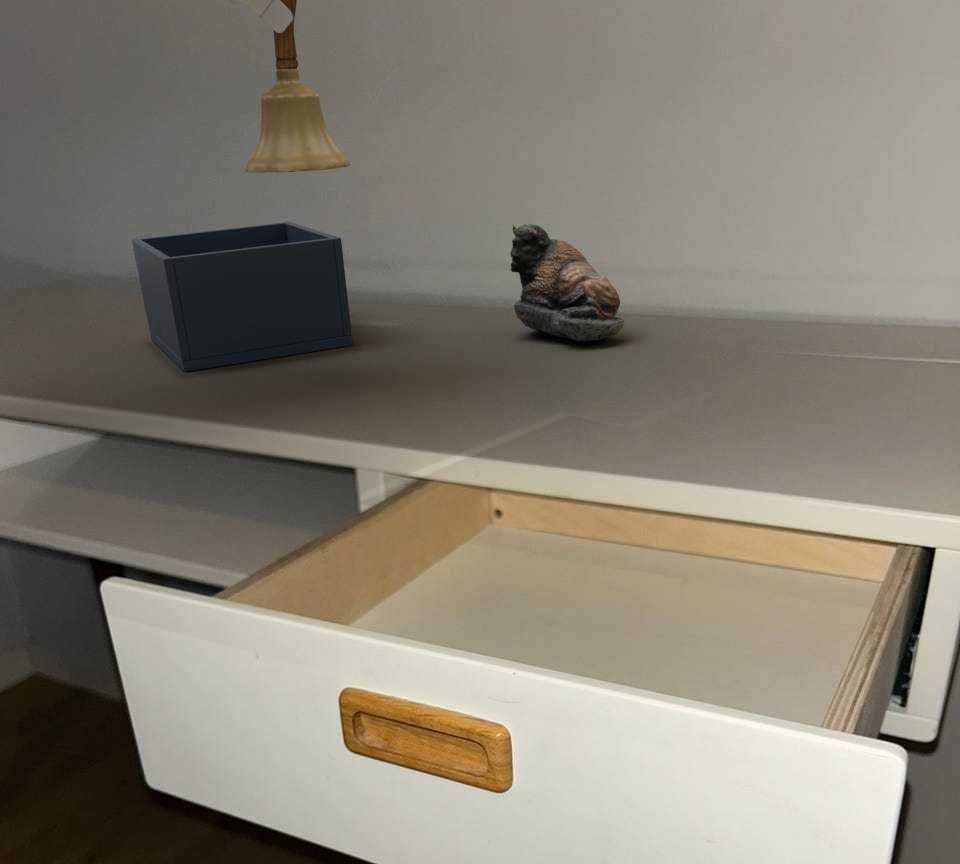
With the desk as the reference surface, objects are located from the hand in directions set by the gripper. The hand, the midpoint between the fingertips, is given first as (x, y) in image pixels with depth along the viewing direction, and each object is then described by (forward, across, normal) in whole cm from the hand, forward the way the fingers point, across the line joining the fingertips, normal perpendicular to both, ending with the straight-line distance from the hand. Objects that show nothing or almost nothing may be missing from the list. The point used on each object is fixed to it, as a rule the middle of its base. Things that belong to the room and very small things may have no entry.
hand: (289, 27), depth 81 cm
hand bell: (+7, 0, +8) cm, 10 cm away
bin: (+13, +18, +25) cm, 33 cm away
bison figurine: (+35, +9, +3) cm, 36 cm away
